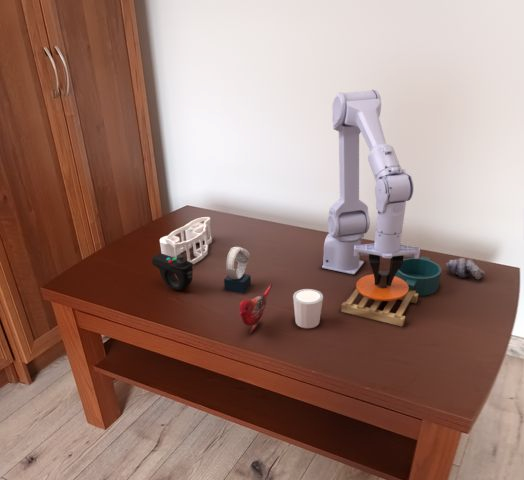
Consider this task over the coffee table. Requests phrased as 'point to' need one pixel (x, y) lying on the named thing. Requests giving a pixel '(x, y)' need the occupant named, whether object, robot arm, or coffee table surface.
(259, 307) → the decorative bird figurine
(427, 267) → the pot
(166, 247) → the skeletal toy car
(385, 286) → the lid
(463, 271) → the seashell
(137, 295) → the coffee table surface
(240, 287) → the watch
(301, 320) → the white cup
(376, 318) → the rack
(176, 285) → the controller
